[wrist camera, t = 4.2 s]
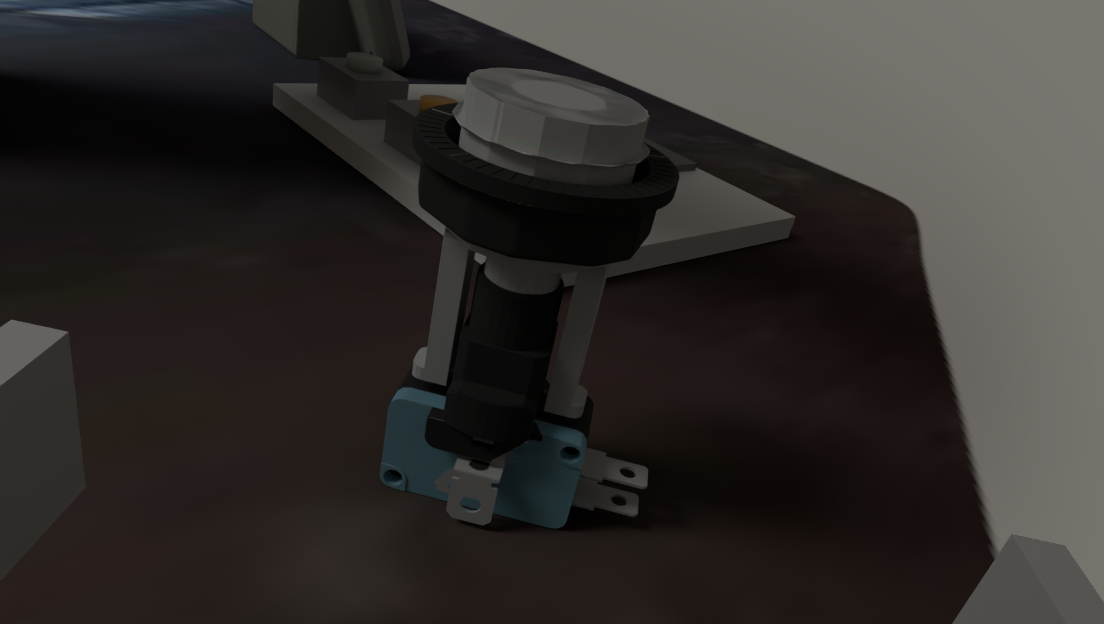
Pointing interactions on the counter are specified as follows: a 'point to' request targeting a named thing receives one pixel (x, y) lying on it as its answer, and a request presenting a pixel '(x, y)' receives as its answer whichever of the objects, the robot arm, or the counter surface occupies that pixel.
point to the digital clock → (336, 28)
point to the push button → (521, 294)
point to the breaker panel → (393, 104)
